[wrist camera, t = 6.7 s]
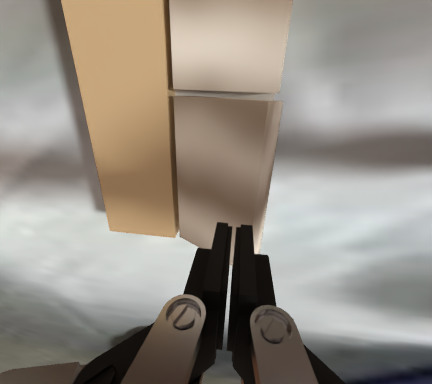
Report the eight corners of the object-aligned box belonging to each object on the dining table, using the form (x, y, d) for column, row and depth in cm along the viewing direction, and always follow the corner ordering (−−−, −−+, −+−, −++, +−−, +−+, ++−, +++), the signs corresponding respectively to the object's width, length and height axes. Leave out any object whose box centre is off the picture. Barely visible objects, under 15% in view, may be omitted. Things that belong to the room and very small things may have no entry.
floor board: (71, -136, 13) (14, -210, 10) (305, -152, 12) (327, -243, 9) (127, 213, 24) (109, 232, 21) (254, 226, 23) (256, 248, 19)
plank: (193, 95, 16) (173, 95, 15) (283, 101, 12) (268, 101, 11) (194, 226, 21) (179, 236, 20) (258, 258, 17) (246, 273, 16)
